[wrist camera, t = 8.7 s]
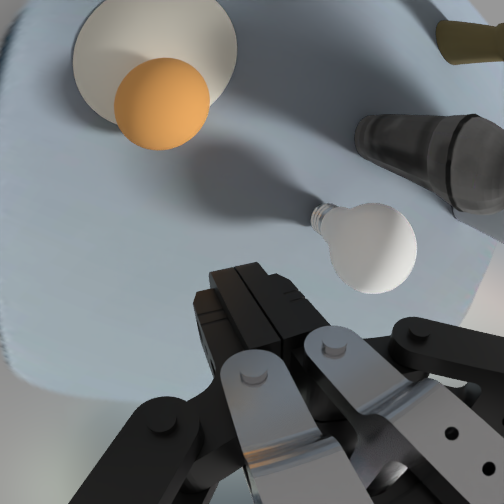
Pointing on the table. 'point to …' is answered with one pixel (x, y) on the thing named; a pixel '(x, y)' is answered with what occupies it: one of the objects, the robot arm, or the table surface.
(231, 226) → the table surface
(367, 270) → the light bulb
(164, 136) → the ball
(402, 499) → the robot arm
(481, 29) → the cork
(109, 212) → the table surface
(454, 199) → the beverage cup
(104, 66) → the plate
